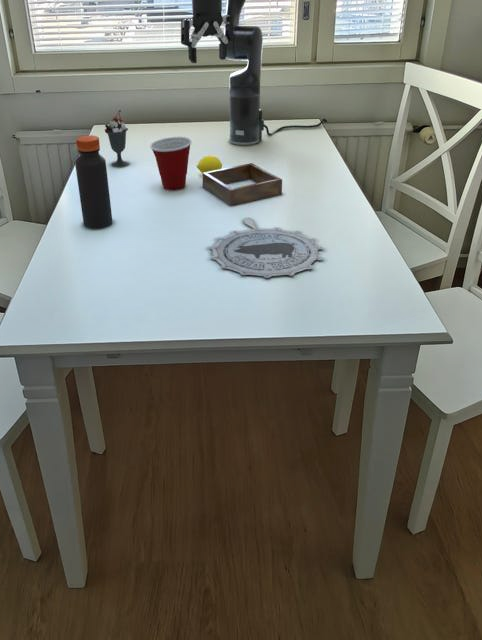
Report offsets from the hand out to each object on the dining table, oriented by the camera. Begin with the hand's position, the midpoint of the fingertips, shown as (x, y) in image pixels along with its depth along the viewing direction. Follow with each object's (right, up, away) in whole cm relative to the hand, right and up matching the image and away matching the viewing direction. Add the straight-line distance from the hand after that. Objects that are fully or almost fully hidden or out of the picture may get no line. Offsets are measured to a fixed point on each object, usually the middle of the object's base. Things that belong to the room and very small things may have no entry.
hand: (208, 61), depth 167 cm
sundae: (-26, -23, +18) cm, 39 cm away
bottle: (-26, -46, -18) cm, 56 cm away
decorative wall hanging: (+12, -53, -30) cm, 62 cm away
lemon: (0, -28, +9) cm, 29 cm away
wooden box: (+9, -35, -2) cm, 36 cm away
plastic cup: (-9, -33, +2) cm, 34 cm away
